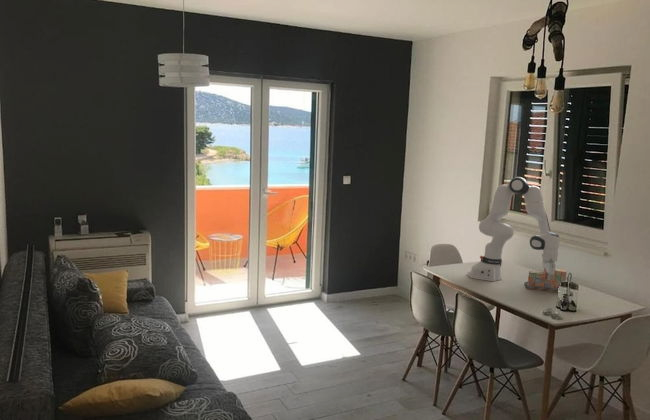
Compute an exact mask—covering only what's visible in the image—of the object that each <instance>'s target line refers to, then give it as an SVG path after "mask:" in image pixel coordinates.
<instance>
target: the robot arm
mask: <svg viewBox="0 0 650 420" xmlns="http://www.w3.org/2000/svg"><path fill="white" fill-rule="evenodd" d="M518 194H519V195H522V196H523V198H524V204H525V205H524V206H525V211H526V213H527V215H529V216H530V217H532V218H534V219H535V220H536V221H537V223H538V224H537V225H538V227H539V232H540V233H539V234H536V235H533V236H531V237H530V239H529V245H530V247H531V249H533V250H537V251H542V254H541V259H542V268H543V269H544V267H545V268H546V272H547V273H548V277H547V280H550V279H551V276H552V275H554V274H555V268H556V263H555V262H558V256H559V247H560V236H559V234H558V233H556V232H553V231H551V228H550V223H549V219H548V215H547V213H546V210H545V205H544V198H543V194H542V191H541V188H540V187H539V186H538V185H537V186H536V185H529V184H528V181H527V179H525V177H524V178H523V177H521V176H516V177H513V178H512V179H511V180H509V184H500V185H498V187H496V190H495V192H494V196H493V200H492V204H491V208H490V211H489V213H488V215H487V216H486V218H484V219H483V220H481V221H480V223H479V225H478V229H479V232H480V233H482V234H483V235H485V236H488V237H491V238H492V239H491V241H490V242H488V243H486V245H485V247H484V255H480V256H479V259H480V261H479V262H476V263H475V264H473V265H472V267H471V270H470V271H467V277H468V278H470V279H475V280H483V281H488V282H489V281H490V282H495V281H496V282H497V281H501V280H502V274H501V273H502V272H501V269H502V263H503V259H502V257H503V256H502V255H503V249H504V246H505V244H506V242H507V241H509V240H510V239H512V238H513V236H514V234H515V233H514V227H513V226H511V225H510V224H508V223H505V222H501V220H502V219H503V218H505V216H507V215H508V214H509V211H510V206H511V201H512V199H513V195H518Z"/></svg>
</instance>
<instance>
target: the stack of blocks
mask: <svg viewBox="0 0 650 420" xmlns="http://www.w3.org/2000/svg"><path fill="white" fill-rule="evenodd" d="M547 277H548V273H547V272H546V268H545V267H544V268H543V271H540V270H539V271H538V270H529V271H528V277H527V282H528V285H529V286H536V287H545V288H555V289H558V288H559V286H560V283H561V282H562V281H565V282H566V280H567V271H566V270H565V269H563V268H556V267H555V274H554V275H552V276H551V279H550V280H547Z"/></svg>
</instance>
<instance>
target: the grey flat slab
mask: <svg viewBox="0 0 650 420" xmlns="http://www.w3.org/2000/svg"><path fill="white" fill-rule="evenodd" d="M523 284H524V285H523V286H524V287H525V288H526V289H527V290H532V291H533V290H534V291H544V292H553V293H558V292H557V291H558V289H555V288H545V287H536V286H529V285H528V281H524V283H523Z"/></svg>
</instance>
